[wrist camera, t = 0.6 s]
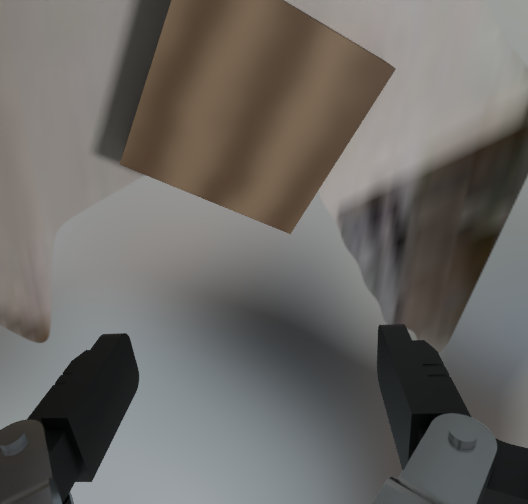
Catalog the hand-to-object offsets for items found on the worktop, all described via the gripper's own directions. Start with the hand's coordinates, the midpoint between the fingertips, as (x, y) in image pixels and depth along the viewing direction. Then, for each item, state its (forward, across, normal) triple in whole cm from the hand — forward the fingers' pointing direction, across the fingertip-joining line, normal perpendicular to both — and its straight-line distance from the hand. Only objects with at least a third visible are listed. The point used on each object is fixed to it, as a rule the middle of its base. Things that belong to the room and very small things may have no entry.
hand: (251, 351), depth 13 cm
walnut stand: (+25, +2, -6) cm, 26 cm away
